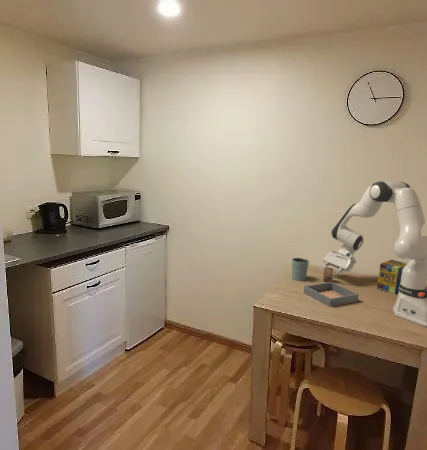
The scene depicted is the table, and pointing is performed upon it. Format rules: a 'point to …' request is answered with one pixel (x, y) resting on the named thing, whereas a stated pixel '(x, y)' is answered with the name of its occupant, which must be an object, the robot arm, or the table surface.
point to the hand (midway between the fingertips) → (329, 271)
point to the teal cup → (299, 269)
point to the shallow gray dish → (331, 294)
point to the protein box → (390, 276)
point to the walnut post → (328, 275)
